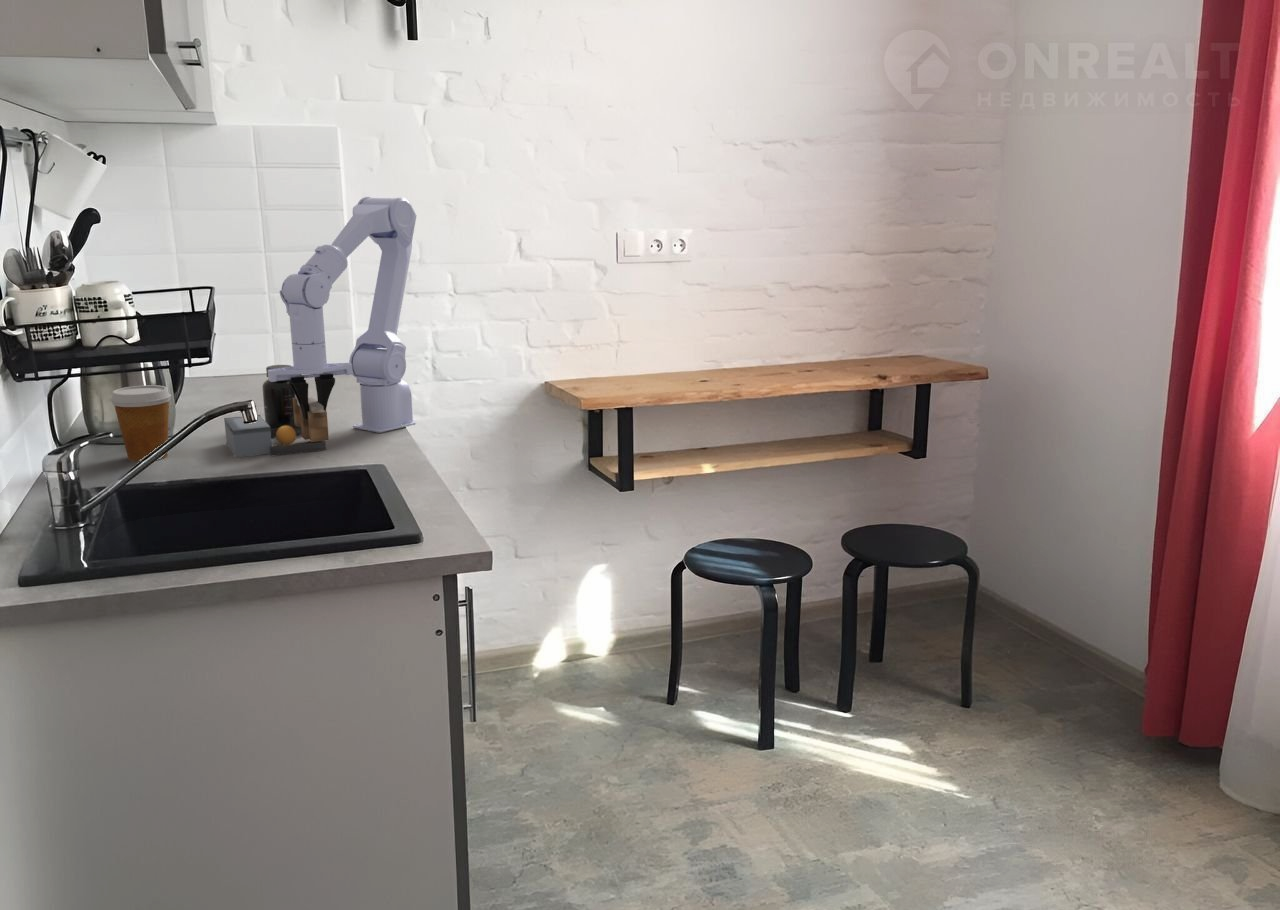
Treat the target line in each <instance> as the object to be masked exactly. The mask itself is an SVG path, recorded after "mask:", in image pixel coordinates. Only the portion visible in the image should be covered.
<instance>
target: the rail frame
mask: <svg viewBox="0 0 1280 910" xmlns="http://www.w3.org/2000/svg"><path fill="white" fill-rule="evenodd" d="M292 428H293V429H294V430H295V432H296V436H302V434H301V426H297V427H296V426H295V427H292ZM278 429H279V428H275V429H270V430H271V439H275V438H276V432H277V430H278ZM276 439H277V438H276ZM326 450H327V440H326V441H316V442H311V441H306V442H305V441H304V442H297V443H291V444H286V445H284V444H278V445H272V446H270V454H269V455H270V457H274V456H282V455H291V454H292V455H293V454H300V453H311V452H317V451H318V452H319V451H326Z"/></svg>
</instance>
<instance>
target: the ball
mask: <svg viewBox="0 0 1280 910" xmlns="http://www.w3.org/2000/svg"><path fill="white" fill-rule="evenodd" d="M296 438H297V435H296V432H295V430H294V429H293V428H292V427H290V426H282V427H280V428H279V429H278V430H277V432H276V440H277V441H278V442H279V443H280V445H286V444H294V442H295V440H296Z"/></svg>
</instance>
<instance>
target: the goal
mask: <svg viewBox="0 0 1280 910" xmlns="http://www.w3.org/2000/svg"><path fill="white" fill-rule="evenodd" d="M257 415H258V421H257V422H256V423H252V424H244V423H243V421H242V417H241V416H233V417H224V421H223V422H224V432H225V440H226V441H225V442H226V445H227V446H228V448H229V450H230V452H232V454H233V456H234V458H242V457H251V456H260V455H270V446H273V444H272V443H273V442H272V438H271V430H270V426H269V425H268V424H267V423H266V422H265V418H263V417H262V416H261V414H257Z"/></svg>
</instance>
